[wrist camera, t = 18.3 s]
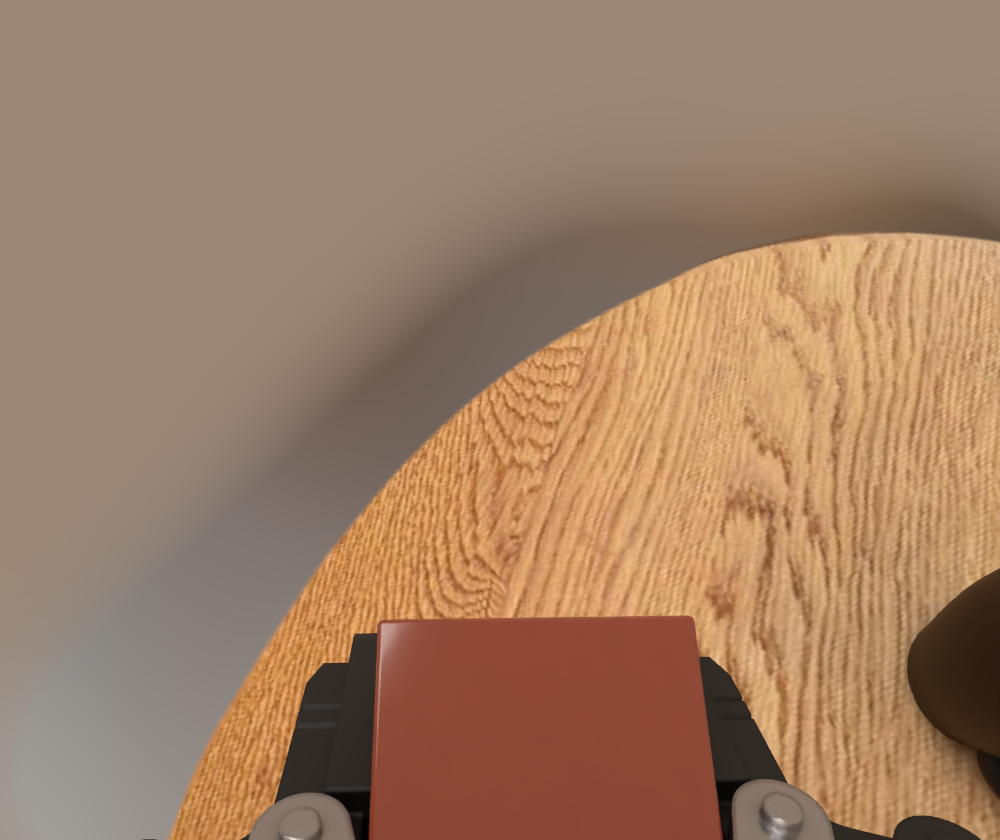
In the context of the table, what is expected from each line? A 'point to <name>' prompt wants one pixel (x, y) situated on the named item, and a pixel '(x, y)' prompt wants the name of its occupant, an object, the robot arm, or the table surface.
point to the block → (541, 731)
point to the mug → (964, 672)
